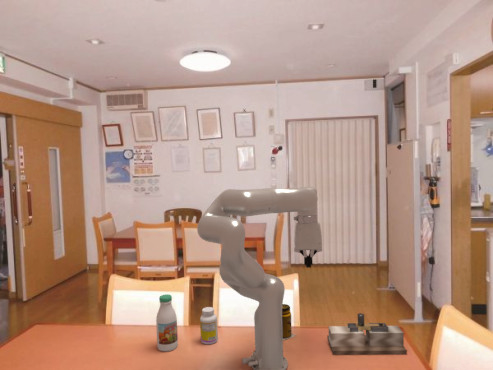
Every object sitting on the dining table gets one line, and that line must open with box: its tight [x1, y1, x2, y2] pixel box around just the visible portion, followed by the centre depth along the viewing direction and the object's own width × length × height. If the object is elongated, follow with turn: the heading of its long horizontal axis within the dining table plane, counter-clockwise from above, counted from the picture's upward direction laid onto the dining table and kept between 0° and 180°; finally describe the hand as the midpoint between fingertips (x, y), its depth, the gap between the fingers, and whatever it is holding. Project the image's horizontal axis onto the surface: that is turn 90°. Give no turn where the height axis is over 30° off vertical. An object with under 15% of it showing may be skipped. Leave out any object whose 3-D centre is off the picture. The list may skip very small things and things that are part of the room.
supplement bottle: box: [199, 306, 219, 345], centre depth 148 cm, size 7×7×13 cm
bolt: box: [356, 312, 380, 331], centre depth 140 cm, size 8×2×6 cm, turn 87°
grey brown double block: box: [326, 325, 408, 356], centre depth 141 cm, size 26×12×6 cm, turn 87°
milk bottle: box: [155, 293, 179, 352], centre depth 144 cm, size 8×8×20 cm
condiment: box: [282, 303, 297, 341], centre depth 151 cm, size 7×8×12 cm
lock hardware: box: [347, 322, 389, 332], centre depth 140 cm, size 14×4×2 cm, turn 88°
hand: (308, 266), depth 145 cm, fingers closed
